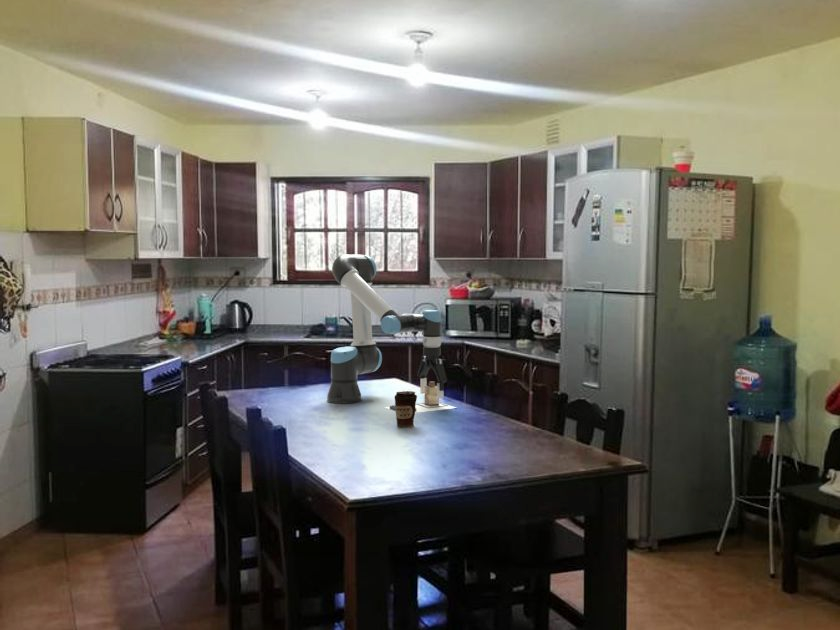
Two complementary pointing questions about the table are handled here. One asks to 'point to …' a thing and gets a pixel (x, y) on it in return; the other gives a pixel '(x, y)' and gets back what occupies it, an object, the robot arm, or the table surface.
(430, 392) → the stamp
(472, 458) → the table surface
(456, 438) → the table surface
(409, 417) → the coffee cup
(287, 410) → the table surface
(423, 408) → the sheet
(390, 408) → the ink pad
